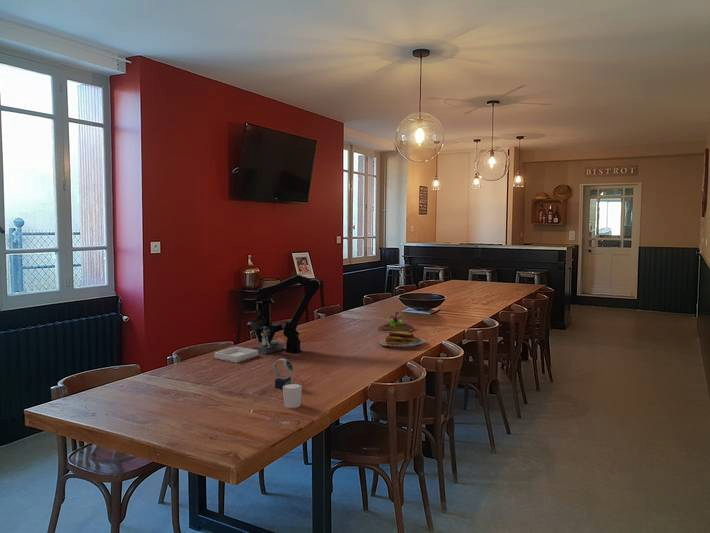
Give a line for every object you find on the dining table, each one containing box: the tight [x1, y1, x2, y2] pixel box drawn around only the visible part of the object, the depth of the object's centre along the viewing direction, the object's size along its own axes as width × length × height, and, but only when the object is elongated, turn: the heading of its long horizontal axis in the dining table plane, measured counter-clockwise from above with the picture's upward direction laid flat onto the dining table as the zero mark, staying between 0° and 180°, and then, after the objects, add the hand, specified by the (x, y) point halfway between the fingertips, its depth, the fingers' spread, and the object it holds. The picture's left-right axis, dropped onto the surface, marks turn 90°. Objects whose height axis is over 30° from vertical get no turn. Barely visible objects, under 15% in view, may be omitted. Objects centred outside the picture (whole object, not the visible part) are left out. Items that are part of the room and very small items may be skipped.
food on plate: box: [378, 331, 426, 349], centre depth 288 cm, size 25×25×7 cm
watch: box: [272, 358, 294, 390], centre depth 215 cm, size 6×8×11 cm
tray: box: [213, 346, 259, 364], centre depth 260 cm, size 15×15×3 cm
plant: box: [378, 311, 414, 332], centre depth 328 cm, size 20×20×11 cm
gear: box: [254, 328, 269, 341], centre depth 299 cm, size 11×6×10 cm
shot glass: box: [282, 383, 303, 409], centre depth 192 cm, size 7×7×7 cm
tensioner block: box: [252, 339, 285, 355], centre depth 274 cm, size 8×14×4 cm, turn 149°
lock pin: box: [261, 332, 268, 347], centre depth 271 cm, size 4×4×10 cm
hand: (264, 343), depth 272 cm, fingers open, 6 cm apart
